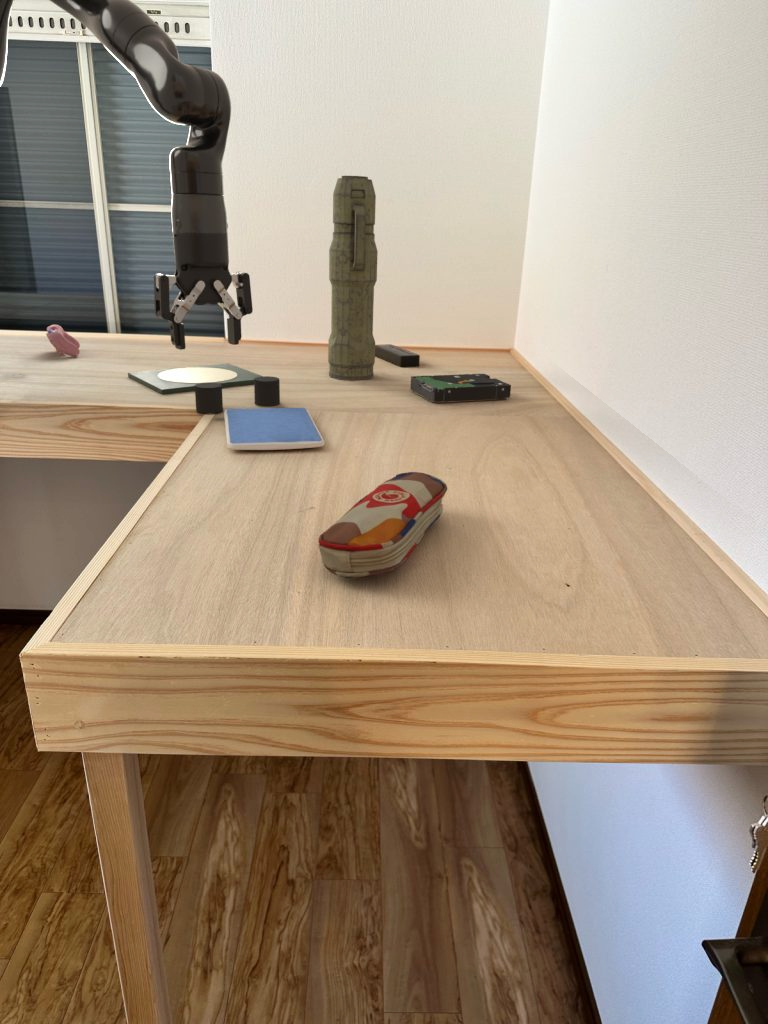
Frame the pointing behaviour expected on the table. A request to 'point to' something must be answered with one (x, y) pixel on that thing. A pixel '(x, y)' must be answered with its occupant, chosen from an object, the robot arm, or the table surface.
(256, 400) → the black cylinder puck
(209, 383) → the dark round peg
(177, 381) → the board
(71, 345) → the pink bird figurine
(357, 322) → the thermos
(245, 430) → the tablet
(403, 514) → the pencil case
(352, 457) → the table surface
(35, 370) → the table surface
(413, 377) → the disk drive
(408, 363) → the multiport hub
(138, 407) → the table surface
